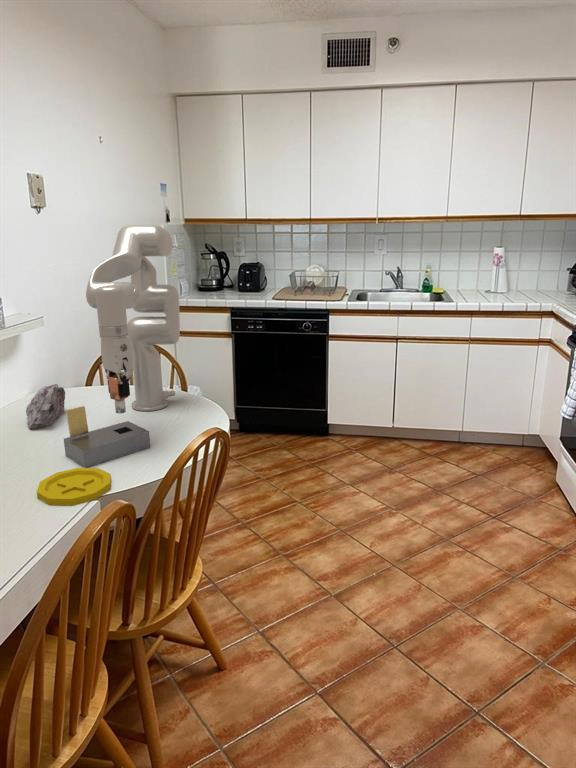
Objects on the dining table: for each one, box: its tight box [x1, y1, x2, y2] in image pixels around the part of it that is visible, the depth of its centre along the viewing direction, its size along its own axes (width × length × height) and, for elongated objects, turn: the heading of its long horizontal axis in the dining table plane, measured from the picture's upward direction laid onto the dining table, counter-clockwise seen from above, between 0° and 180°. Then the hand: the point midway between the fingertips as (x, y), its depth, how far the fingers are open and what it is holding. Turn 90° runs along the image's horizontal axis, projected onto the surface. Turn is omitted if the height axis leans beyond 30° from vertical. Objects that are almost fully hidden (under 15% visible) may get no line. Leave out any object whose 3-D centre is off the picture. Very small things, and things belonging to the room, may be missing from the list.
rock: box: [25, 383, 66, 430], centre depth 187 cm, size 22×10×15 cm, turn 5°
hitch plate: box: [63, 420, 151, 468], centre depth 162 cm, size 20×12×5 cm, turn 134°
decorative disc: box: [36, 467, 112, 506], centre depth 141 cm, size 17×18×2 cm
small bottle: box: [107, 374, 130, 415], centre depth 161 cm, size 5×5×10 cm
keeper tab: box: [65, 405, 90, 437], centre depth 159 cm, size 8×5×1 cm
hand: (119, 393), depth 161 cm, fingers closed on small bottle, 5 cm apart
